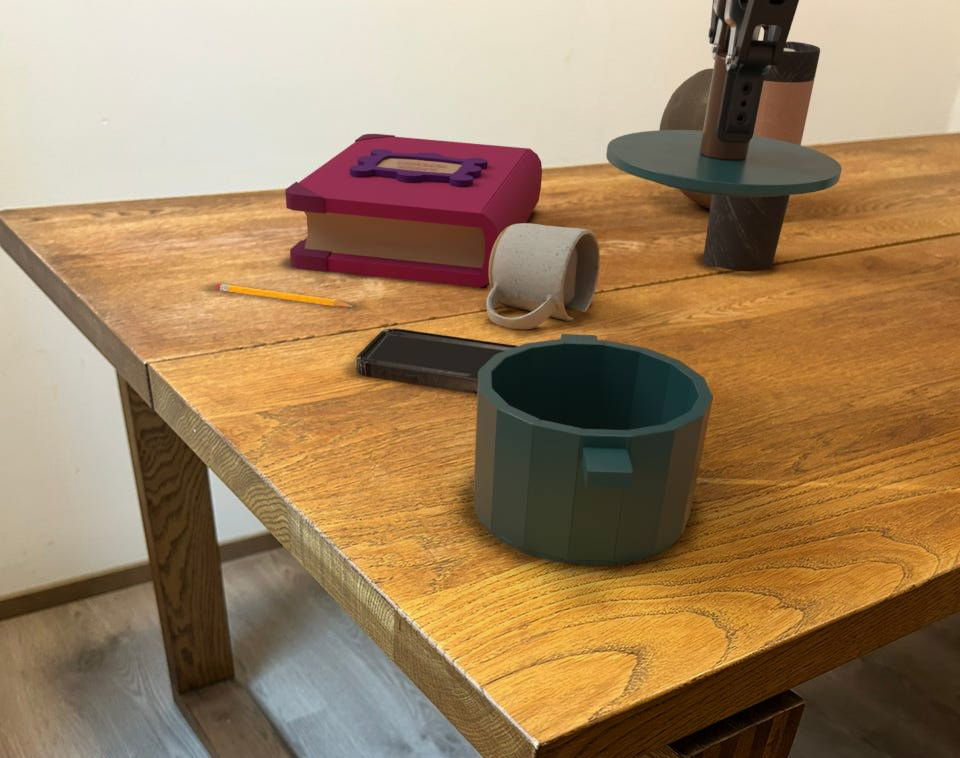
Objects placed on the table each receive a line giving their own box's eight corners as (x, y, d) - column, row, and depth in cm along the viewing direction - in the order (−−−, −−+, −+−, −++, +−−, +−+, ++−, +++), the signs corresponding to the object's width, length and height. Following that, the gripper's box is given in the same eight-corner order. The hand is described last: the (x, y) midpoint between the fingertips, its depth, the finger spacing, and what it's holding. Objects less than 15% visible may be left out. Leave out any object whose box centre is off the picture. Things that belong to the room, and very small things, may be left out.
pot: (662, 443, 72) (681, 327, 66) (713, 598, 57) (743, 463, 51) (472, 437, 71) (477, 320, 66) (473, 591, 56) (479, 455, 51)
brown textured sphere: (767, 199, 126) (794, 64, 117) (764, 230, 115) (794, 83, 106) (655, 188, 129) (674, 54, 119) (642, 217, 118) (661, 72, 109)
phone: (385, 326, 84) (560, 351, 81) (385, 339, 84) (559, 364, 82) (351, 361, 78) (538, 389, 75) (351, 375, 78) (537, 403, 76)
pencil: (219, 290, 93) (218, 282, 93) (354, 308, 91) (354, 301, 90) (215, 293, 92) (214, 285, 92) (351, 312, 90) (351, 304, 90)
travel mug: (745, 282, 100) (791, 54, 88) (685, 262, 105) (721, 42, 92) (788, 268, 105) (838, 48, 92) (728, 249, 109) (768, 37, 97)
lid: (803, 154, 71) (828, 45, 66) (867, 212, 59) (901, 84, 55) (595, 143, 70) (607, 32, 66) (617, 199, 58) (633, 69, 54)
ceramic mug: (519, 290, 96) (524, 206, 91) (597, 307, 93) (606, 221, 88) (463, 325, 88) (465, 235, 84) (545, 345, 85) (552, 253, 81)
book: (539, 213, 117) (544, 142, 112) (495, 291, 95) (499, 207, 91) (366, 197, 120) (364, 127, 115) (285, 269, 98) (278, 186, 93)
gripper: (907, -232, 47) (814, 164, 58) (827, -214, 58) (761, 115, 69) (749, -242, 47) (685, 157, 57) (699, -222, 58) (653, 110, 69)
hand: (727, 133), depth 63 cm, fingers closed on lid, 3 cm apart
